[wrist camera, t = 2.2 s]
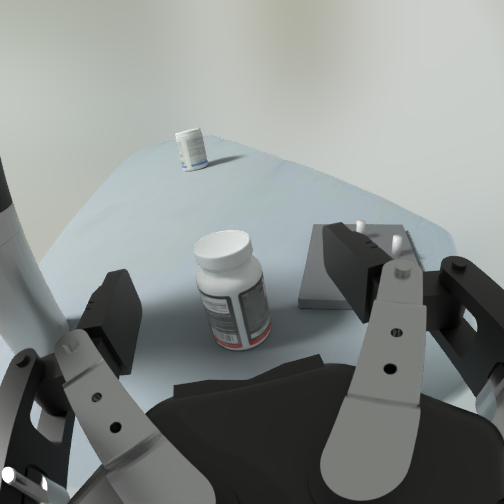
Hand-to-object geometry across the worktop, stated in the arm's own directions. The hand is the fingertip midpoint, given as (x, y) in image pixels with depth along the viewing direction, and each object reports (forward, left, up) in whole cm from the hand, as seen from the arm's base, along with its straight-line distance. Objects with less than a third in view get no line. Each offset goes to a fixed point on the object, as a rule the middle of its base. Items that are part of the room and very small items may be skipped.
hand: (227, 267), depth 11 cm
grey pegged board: (+7, +23, -14) cm, 28 cm away
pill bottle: (-5, +10, -14) cm, 18 cm away
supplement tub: (-47, +87, -14) cm, 100 cm away
